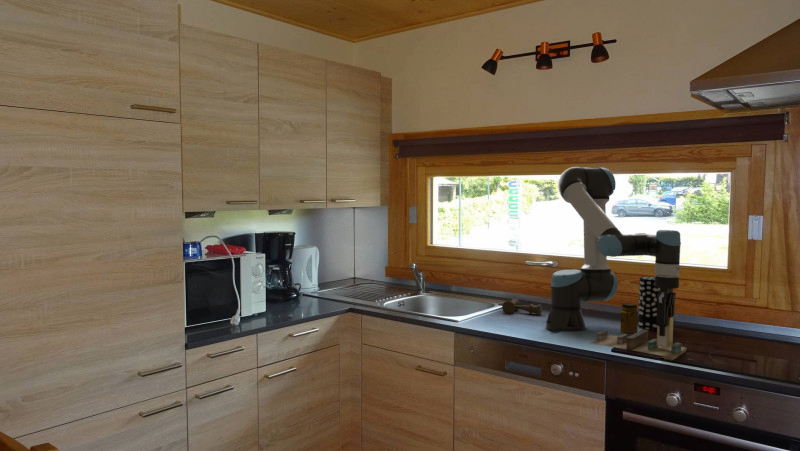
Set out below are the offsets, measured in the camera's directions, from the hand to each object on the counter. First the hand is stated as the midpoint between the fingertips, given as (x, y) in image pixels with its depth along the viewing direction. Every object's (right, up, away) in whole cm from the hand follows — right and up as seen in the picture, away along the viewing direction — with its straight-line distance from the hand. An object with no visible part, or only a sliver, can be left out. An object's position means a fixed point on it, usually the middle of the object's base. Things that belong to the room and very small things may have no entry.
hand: (664, 343), depth 198 cm
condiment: (-2, -2, +24) cm, 24 cm away
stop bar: (0, -1, 0) cm, 1 cm away
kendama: (-36, 0, +64) cm, 74 cm away
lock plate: (-7, -3, +6) cm, 10 cm away
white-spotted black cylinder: (+11, -1, +37) cm, 39 cm away
